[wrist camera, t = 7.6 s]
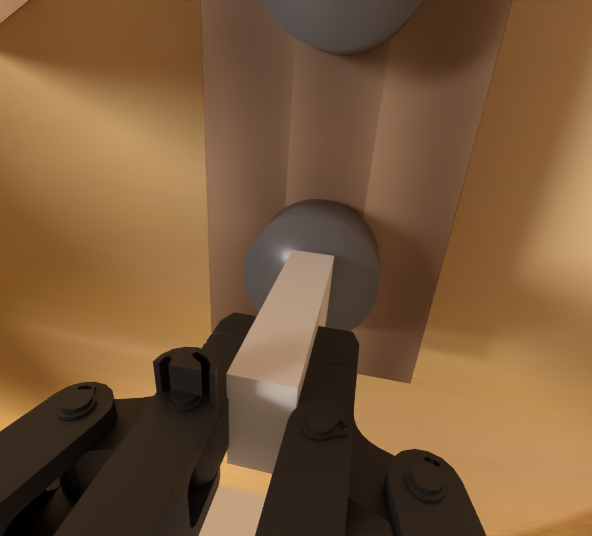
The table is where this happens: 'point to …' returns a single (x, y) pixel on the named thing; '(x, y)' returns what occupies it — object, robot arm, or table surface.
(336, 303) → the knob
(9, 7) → the milk
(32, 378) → the table surface
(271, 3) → the knob middle
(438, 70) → the mount
